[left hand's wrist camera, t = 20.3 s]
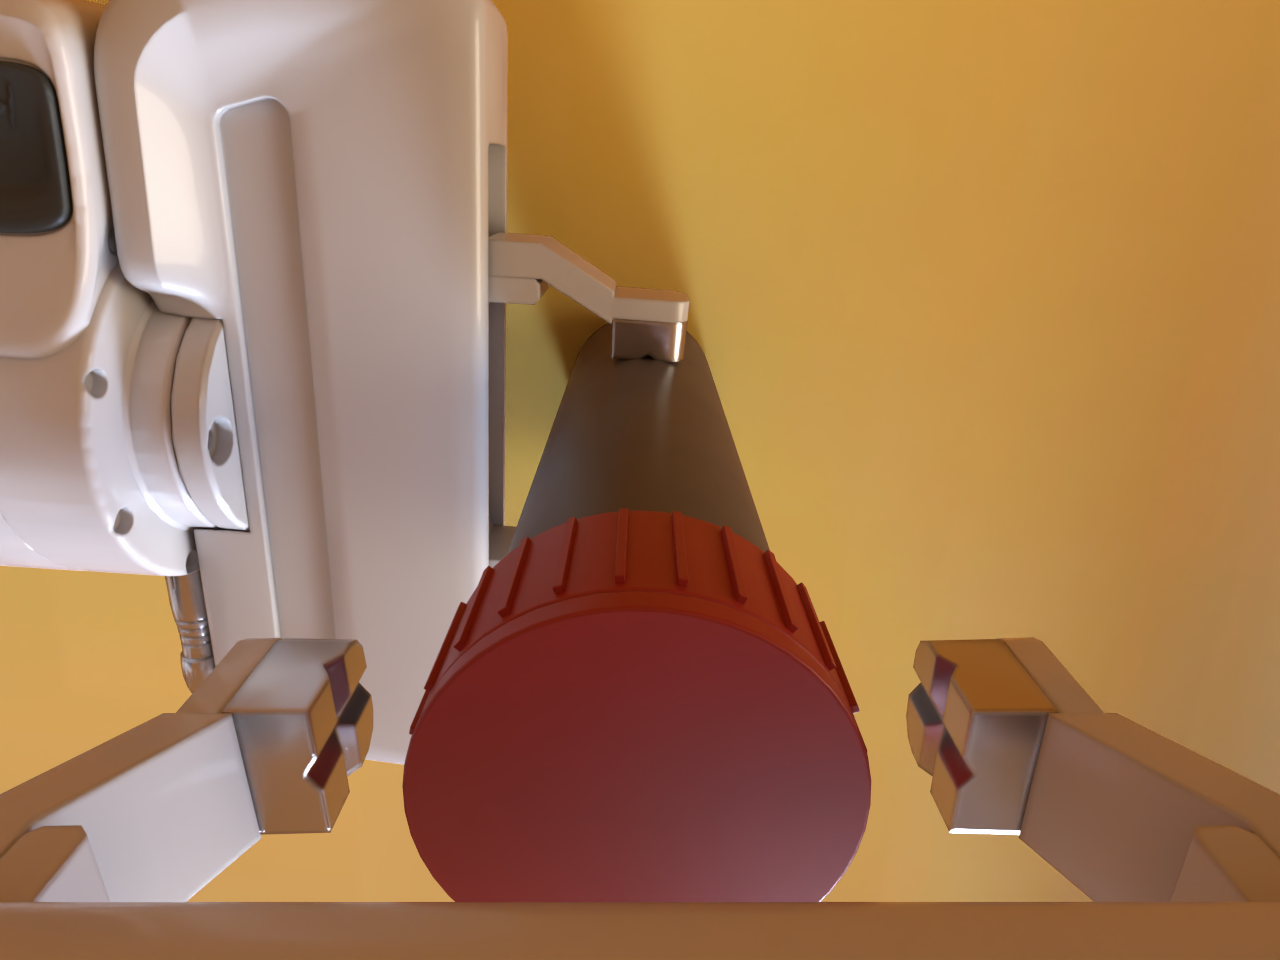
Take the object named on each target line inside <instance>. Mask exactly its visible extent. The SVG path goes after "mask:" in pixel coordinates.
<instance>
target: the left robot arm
mask: <svg viewBox="0 0 1280 960" xmlns="http://www.w3.org/2000/svg"><path fill="white" fill-rule="evenodd" d="M366 668H367V665H366V660H365V655H364V650H363V646H362V645H361V644H360V643H359V642H358V641H357V640H353V639H305V638H284V639H281V638H246V639H243V640H239V641H238V642H237V643H236V644H235V645H234V646H233V647H232V649H231V650H230V651H229V652H228V653H227V654H226V656H225V657H224V658H223V659H222V660H221V661H220V662H219V664H218V665H217V666H216V667H215V668H214V669H213V671H212V672H211V673H210V674H209V675H208V676H207V678H206V679H205V680H204V681H203V682H202V683H201V684H200V686H199V687H198V688H197V689H196V690H195V691H194V693H193V694H192V695H191V696H190V697H189V698H188V700H187V701H186V702H185V703H184V704H183V705H182V706H181V708H180V709H179V710H178V711H177V712H176V713H163V714H161V715H159V716H157V717H155V718H153V719H151V720H149V721H147V722H145V723H143V724H141V725H139V726H137V727H135V728H133V729H131V730H129V731H127V732H125V733H123V734H121V735H119V736H117V737H115V738H113V739H111V740H109V741H107V742H105V743H103V744H101V745H99V746H97V747H95V748H93V749H91V750H89V751H87V752H85V753H83V754H81V755H79V756H77V757H75V758H73V759H71V760H69V761H67V762H65V763H63V764H61V765H59V766H57V767H54V768H52V769H50V770H48V771H46V772H44V773H42V774H40V775H38V776H36V777H34V778H32V779H30V780H28V781H26V782H24V783H22V784H20V785H18V786H16V787H14V788H12V789H10V790H8V791H6V792H4V793H2V794H0V960H1280V795H1279V794H1277V793H1275V792H1273V791H1271V790H1269V789H1267V788H1265V787H1263V786H1261V785H1259V784H1257V783H1255V782H1253V781H1251V780H1249V779H1247V778H1245V777H1243V776H1241V775H1239V774H1237V773H1235V772H1233V771H1231V770H1229V769H1227V768H1225V767H1223V766H1221V765H1219V764H1217V763H1215V762H1213V761H1211V760H1209V759H1207V758H1205V757H1203V756H1201V755H1199V754H1197V753H1195V752H1193V751H1191V750H1189V749H1187V748H1185V747H1183V746H1181V745H1179V744H1177V743H1175V742H1173V741H1171V740H1169V739H1167V738H1165V737H1163V736H1161V735H1159V734H1157V733H1155V732H1153V731H1151V730H1149V729H1147V728H1145V727H1143V726H1141V725H1139V724H1137V723H1135V722H1133V721H1131V720H1129V719H1127V718H1125V717H1123V716H1121V715H1119V714H1117V713H1104V712H1103V711H1102V710H1101V709H1100V708H1099V707H1098V705H1097V704H1096V703H1095V702H1094V701H1093V700H1092V698H1091V697H1090V696H1089V695H1088V694H1087V693H1086V691H1085V690H1084V689H1083V688H1082V687H1081V686H1080V685H1079V683H1078V682H1077V681H1076V680H1075V679H1074V678H1073V676H1072V675H1071V674H1070V673H1069V672H1068V671H1067V669H1066V668H1065V667H1064V666H1063V665H1062V664H1061V663H1060V661H1059V660H1058V659H1057V658H1056V657H1055V656H1054V654H1053V653H1052V652H1051V651H1050V650H1049V649H1048V647H1047V646H1046V645H1045V644H1044V643H1043V642H1042V641H1040V640H1038V639H1036V638H1034V637H1029V638H1001V639H980V640H932V641H920V643H919V645H918V647H917V650H916V653H915V659H914V665H913V668H914V669H915V671H916V673H917V675H918V677H919V679H920V681H921V683H920V684H919V685H918V686H917V687H916V688H915V689H914V690H913V691H912V692H911V693H910V694H909V697H908V706H907V714H906V719H907V732H908V739H909V743H910V747H911V750H912V753H913V755H914V758H915V760H916V762H917V764H918V766H919V767H920V768H922V769H923V770H924V771H926V772H927V773H929V774H930V775H931V776H933V779H932V785H931V791H930V792H931V794H932V797H933V799H934V801H935V803H936V805H937V807H938V809H939V811H940V813H941V815H942V818H943V820H944V822H945V824H946V826H947V828H948V830H949V832H950V833H984V834H1019V838H1020V839H1021V840H1022V841H1023V842H1024V843H1026V844H1027V845H1028V846H1029V847H1030V848H1032V849H1033V850H1034V851H1035V852H1036V853H1037V854H1039V855H1040V856H1041V857H1042V858H1043V859H1044V860H1046V861H1047V862H1048V863H1049V864H1050V865H1052V866H1053V867H1054V868H1055V869H1056V870H1057V871H1059V872H1060V873H1061V874H1062V875H1063V876H1065V877H1066V878H1067V879H1068V880H1069V881H1070V882H1072V883H1073V884H1074V885H1075V886H1076V887H1077V888H1079V889H1080V890H1081V891H1082V892H1083V893H1085V894H1086V895H1087V896H1088V897H1089V898H1090V899H1092V900H1093V901H1094V902H186V901H187V900H189V899H190V898H191V897H192V896H193V895H195V894H196V893H197V892H198V891H199V890H200V889H202V888H203V887H204V886H205V885H206V884H207V883H209V882H210V881H211V880H212V879H213V878H215V877H216V876H217V875H218V874H219V873H220V872H222V871H223V870H224V869H225V868H226V867H228V866H229V865H230V864H231V863H232V862H233V861H235V860H236V859H237V858H238V857H239V856H241V855H242V854H243V853H244V852H245V851H246V850H248V849H249V848H250V847H251V846H252V845H254V844H255V843H256V842H257V841H258V840H259V839H261V835H260V834H295V833H330V832H331V830H332V828H333V826H334V824H335V822H336V820H337V818H338V816H339V813H340V811H341V809H342V807H343V805H344V803H345V801H346V799H347V797H348V794H349V792H350V791H349V785H348V779H347V776H349V775H350V774H351V773H353V772H354V771H356V770H357V769H358V768H360V767H361V766H362V764H363V762H364V760H365V757H366V755H367V753H368V751H369V747H370V742H371V737H372V732H373V704H372V697H371V694H370V693H369V692H368V691H367V690H366V689H365V688H364V687H363V686H362V685H361V684H360V683H359V681H360V679H361V677H362V675H363V673H364V671H365V669H366Z"/></svg>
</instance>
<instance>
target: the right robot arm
mask: <svg viewBox="0 0 1280 960" xmlns="http://www.w3.org/2000/svg"><path fill="white" fill-rule="evenodd" d="M507 101H508V31H507V25H506V22H505V20H504V18H503V16H502V14H501V13H500V11H499V10H498V8H497V7H496V6H495V4H494V3H493V2H492V0H109V1H108V3H107V5H106V6H105V5H101V4H97V3H94V2H89V1H84V0H0V566H14V567H30V568H46V569H62V570H78V571H95V572H111V573H126V574H142V575H157V576H165V579H166V584H167V590H168V596H169V601H170V606H171V610H172V613H173V617H174V620H175V622H176V625H177V628H178V632H179V634H180V639H181V645H182V652H181V669H182V673H183V677H184V680H185V682H186V684H187V687H188V688H189V690H190V692H191V693H192V694H193V693H194V691H195V690H196V689H197V688H198V687H199V686H200V684H201V683H202V682H203V681H204V680H205V679H206V678H207V676H208V675H209V674H210V673H211V672H212V671H213V669H214V668H215V667H216V666H217V665H218V664H219V662H220V661H221V660H222V659H223V658H224V657H225V656H226V654H227V653H228V652H229V651H230V650H231V649H232V647H233V646H234V645H235V644H236V643H237V642H238V641H239V640H243V639H246V638H281V639H284V638H305V639H353V640H357V641H358V642H359V643H360V644H361V645H362V646H363V650H364V655H365V660H366V665H367V668H366V669H365V671H364V673H363V675H362V677H361V679H360V681H359V683H360V684H361V685H362V686H363V687H364V688H365V689H366V690H367V691H368V692H369V693H370V694H371V697H372V704H373V732H372V737H371V742H370V747H369V751H368V753H367V755H366V757H365V759H368V760H374V761H381V762H388V763H396V764H404V763H405V759H406V755H407V751H408V747H409V743H410V739H411V736H412V735H410V734H409V731H410V726H411V724H412V722H413V719H414V717H415V714H416V712H417V710H418V707H419V705H420V703H421V700H422V698H423V695H424V693H425V691H426V690H425V689H424V686H425V684H426V682H427V679H428V677H429V674H430V672H431V670H432V667H433V665H434V663H435V660H436V658H437V656H438V653H439V651H440V648H441V646H442V644H443V641H444V639H445V637H446V634H447V632H448V630H449V627H450V625H451V623H452V620H453V618H454V615H455V613H456V611H457V608H458V606H459V604H460V602H463V603H466V604H467V602H468V600H469V599H470V597H471V595H472V594H473V592H474V591H475V589H476V588H477V586H478V584H479V581H480V579H481V576H482V574H483V571H484V570H485V569H486V568H487V567H488V566H490V567H492V568H493V567H494V566H495V565H496V564H497V563H499V562H500V561H501V560H502V559H503V558H504V557H506V556H507V553H508V550H509V547H510V545H511V542H512V539H513V536H514V533H515V530H516V528H517V527H513V526H504V513H505V376H506V303H516V304H532V305H534V304H535V303H536V302H537V301H538V300H539V299H540V298H541V297H542V295H543V294H544V293H545V292H546V290H547V289H548V288H549V285H551V286H553V287H554V288H556V289H557V290H559V291H560V292H562V293H563V294H565V295H566V296H568V297H570V298H571V299H573V300H574V301H576V302H577V303H579V304H580V305H582V306H583V307H585V308H587V309H588V310H590V311H591V312H593V313H594V314H596V315H597V316H599V317H600V318H602V319H604V320H605V321H607V322H608V323H610V324H611V323H612V319H613V333H612V358H619V359H631V360H632V359H641V358H643V357H645V356H646V355H648V354H649V355H650V356H651V357H652V358H654V359H655V360H657V361H662V362H678V361H682V360H683V356H684V347H685V338H686V330H687V318H688V309H689V298H688V295H687V294H685V293H682V292H677V291H672V290H658V289H645V288H632V287H619V286H616V281H615V280H614V279H612V278H611V277H609V276H608V275H606V274H605V273H604V272H602V271H601V270H599V269H598V268H596V267H595V266H594V265H592V264H591V263H589V262H588V261H586V260H585V259H583V258H582V257H581V256H579V255H578V254H576V253H575V252H573V251H572V250H570V249H569V248H568V247H566V246H565V245H563V244H562V243H560V242H559V241H557V240H556V239H555V238H553V237H552V236H543V235H530V234H517V233H507Z"/></svg>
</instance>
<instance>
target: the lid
mask: <svg viewBox="0 0 1280 960" xmlns="http://www.w3.org/2000/svg"><path fill="white" fill-rule="evenodd" d="M424 689H425V690H426V691H425V693H424V695H423V698H422V700H421V703H420V705H419V707H418V710H417V712H416V714H415V717H414V719H413V722H412V724H411V726H410V731H409V734H410V735H412V736H411V739H410V743H409V747H408V751H407V755H406V759H405V763H404V775H403V797H404V808H405V814H406V818H407V822H408V825H409V829H410V833H411V836H412V838H413V841H414V843H415V845H416V848H417V850H418V852H419V855H420V857H421V858H422V860H423V862H424V863H425V865H426V866H427V868H428V870H429V871H430V873H431V874H432V876H433V877H434V879H435V880H436V881H437V882H438V883H439V885H440V886H441V887H442V888H443V889H444V891H445V892H446V893H447V894H448V895H449V896H450V897H451V898H452V899H453V900H454V901H455V902H821V901H822V900H823V899H824V898H825V897H826V896H827V895H828V894H829V893H830V892H831V890H832V889H833V888H834V886H835V885H836V884H837V883H838V881H839V880H840V879H841V877H842V876H843V875H844V873H845V872H846V870H847V868H848V867H849V865H850V863H851V861H852V860H853V858H854V856H855V854H856V853H857V850H858V848H859V845H860V842H861V840H862V837H863V834H864V832H865V829H866V824H867V819H868V814H869V809H870V801H871V776H870V769H869V761H868V755H867V749H866V746H865V744H864V741H863V738H862V736H861V733H860V731H859V728H858V725H857V723H856V720H855V718H854V715H853V713H856V712H859V708H858V705H857V702H856V700H855V697H854V695H853V692H852V690H851V687H850V685H849V682H848V680H847V677H846V675H845V672H844V670H843V667H842V665H841V662H840V660H839V657H838V655H837V652H836V650H835V647H834V645H833V642H832V640H831V637H830V635H829V632H828V630H827V627H826V625H825V622H824V621H822V622H819V620H818V618H817V615H816V612H815V610H814V607H813V605H812V602H811V599H810V597H809V594H808V592H807V589H806V587H805V586H804V584H803V583H800V584H798V585H797V584H796V583H795V581H794V580H793V578H792V577H791V576H790V575H789V574H788V573H787V572H786V571H785V570H784V569H783V568H782V567H781V566H780V565H779V564H778V563H777V562H776V559H775V556H774V554H773V553H772V552H771V551H769V550H767V551H766V552H764V551H762V550H761V549H760V548H759V547H757V546H756V545H754V544H752V543H751V542H749V541H747V540H746V539H744V538H742V537H741V536H739V535H737V534H735V533H733V532H732V529H731V528H730V527H728V526H726V525H723V527H719V526H717V525H715V524H712V523H709V522H705V521H702V520H699V519H695V518H692V517H688V516H684V515H682V514H681V512H678V511H673V512H672V513H666V512H657V511H628V508H623V509H619V512H608V513H602V514H597V515H592V516H587V517H582V518H579V519H576V517H572V518H568V519H567V523H564V524H561V525H558V526H555V527H553V528H551V529H549V530H547V531H545V532H543V533H541V534H538V535H536V536H534V537H532V538H531V539H529V537H528V536H527V537H525V538H524V539H522V540H521V542H520V545H519V547H517V548H516V549H514V550H512V551H511V552H510V553H509V554H508V555H507V556H506V557H504V558H503V559H502V560H501V561H500V562H499V563H497V564H496V565H495V566H494V567H493V568H492V567H490V566H488V567H487V568H486V569H485V570H484V571H483V574H482V576H481V579H480V581H479V584H478V586H477V588H476V589H475V591H474V592H473V594H472V595H471V597H470V599H469V600H468V602H467V604H466V603H463V602H460V604H459V606H458V608H457V611H456V613H455V615H454V618H453V620H452V623H451V625H450V627H449V630H448V632H447V634H446V637H445V639H444V641H443V644H442V646H441V648H440V651H439V653H438V656H437V658H436V660H435V663H434V665H433V667H432V670H431V672H430V674H429V677H428V679H427V682H426V684H425V686H424Z"/></svg>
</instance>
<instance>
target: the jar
mask: <svg viewBox="0 0 1280 960" xmlns="http://www.w3.org/2000/svg"><path fill="white" fill-rule="evenodd" d="M612 333H613V321H612V323H611V324H610V323H608V324H606V325H604V326H603V327H601V328H600V329H599V330H597V331H596V332H595V333H594V334H593V335H592V336H591V337H590V338H589V339H588V340H587V341H586V343H585V344H584V345H583V347H582V349H581V350H580V352H579V354H578V356H577V359H576V361H575V364H574V367H573V370H572V373H571V375H570V378H569V381H568V384H567V387H566V390H565V392H564V395H563V398H562V401H561V404H560V406H559V409H558V412H557V415H556V418H555V421H554V423H553V426H552V429H551V432H550V435H549V437H548V440H547V443H546V446H545V449H544V452H543V454H542V457H541V460H540V463H539V466H538V468H537V471H536V474H535V477H534V480H533V483H532V485H531V488H530V491H529V494H528V497H527V499H526V502H525V505H524V508H523V511H522V514H521V516H520V519H519V522H518V525H517V528H516V530H515V533H514V536H513V539H512V542H511V545H510V547H509V550H508V553H507V555H508V554H509V553H510V552H511V551H512V550H514V549H516V548H517V547H519V545H520V542H521V540H522V539H524V538H525V537H527V536H528V537H529V539H531V538H532V537H534V536H536V535H538V534H541V533H543V532H545V531H547V530H549V529H551V528H553V527H555V526H558V525H561V524H564V523H567V519H568V518H572V517H576V519H579V518H582V517H587V516H592V515H597V514H602V513H608V512H619V509H623V508H628V511H657V512H666V513H672V512H673V511H678V512H681V514H682V515H684V516H688V517H692V518H695V519H699V520H702V521H705V522H709V523H712V524H715V525H717V526H719V527H723V525H726V526H728V527H730V528H731V529H732V532H733V533H735V534H737V535H739V536H741V537H742V538H744V539H746V540H747V541H749V542H751V543H752V544H754V545H756V546H757V547H759V548H760V549H761V550H762V551H764V552H766V551H767V550H769V547H768V543H767V540H766V537H765V534H764V531H763V528H762V525H761V522H760V519H759V516H758V513H757V510H756V507H755V504H754V501H753V498H752V495H751V492H750V489H749V486H748V483H747V480H746V477H745V474H744V471H743V468H742V465H741V462H740V459H739V456H738V453H737V450H736V447H735V444H734V440H733V437H732V434H731V431H730V428H729V425H728V422H727V419H726V416H725V413H724V410H723V407H722V404H721V401H720V398H719V395H718V392H717V389H716V386H715V383H714V380H713V377H712V374H711V371H710V368H709V365H708V362H707V359H706V357H705V354H704V352H703V351H702V349H701V347H700V346H699V344H698V343H697V342H696V340H695V339H694V338H693V337H692V336H691V335H690V334H689V333H688V332H687V331H686V338H685V347H684V356H683V360H682V361H678V362H662V361H657V360H655V359H654V358H652V357H651V356H650V355H649V354H648V355H646V356H645V357H643V358H641V359H632V360H631V359H619V358H612ZM769 551H770V550H769Z"/></svg>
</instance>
